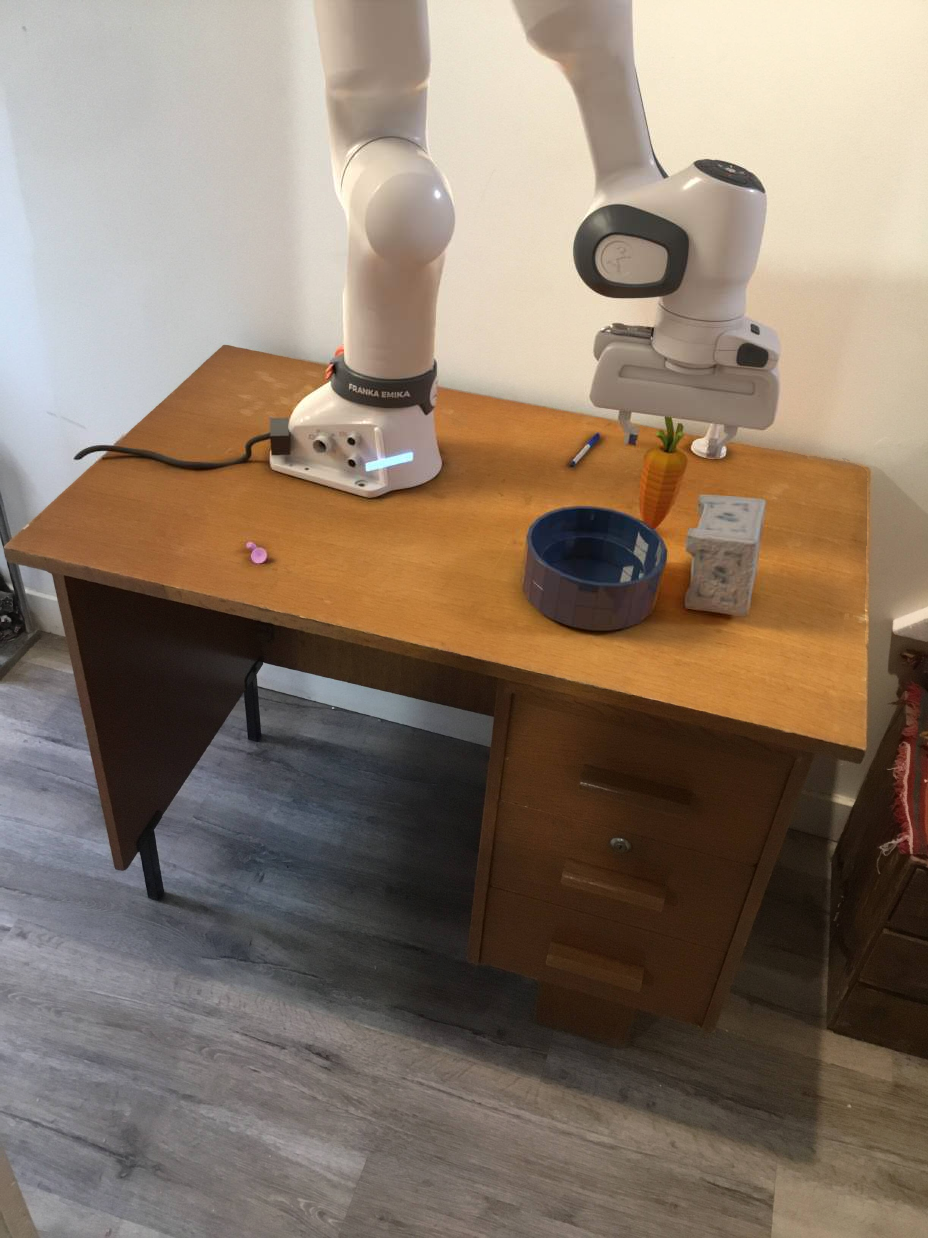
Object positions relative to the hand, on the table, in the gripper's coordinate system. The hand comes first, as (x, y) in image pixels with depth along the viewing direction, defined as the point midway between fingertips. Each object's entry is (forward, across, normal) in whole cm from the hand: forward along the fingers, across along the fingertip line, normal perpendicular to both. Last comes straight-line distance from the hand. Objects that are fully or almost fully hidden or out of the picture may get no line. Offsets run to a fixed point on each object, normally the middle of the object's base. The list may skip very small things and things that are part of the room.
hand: (671, 450), depth 104 cm
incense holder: (+12, +7, -10) cm, 17 cm away
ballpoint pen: (+12, -11, +18) cm, 24 cm away
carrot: (+12, 0, 0) cm, 12 cm away
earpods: (+11, -44, -19) cm, 49 cm away
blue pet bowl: (+11, -6, -14) cm, 19 cm away
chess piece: (+12, +6, +24) cm, 27 cm away
